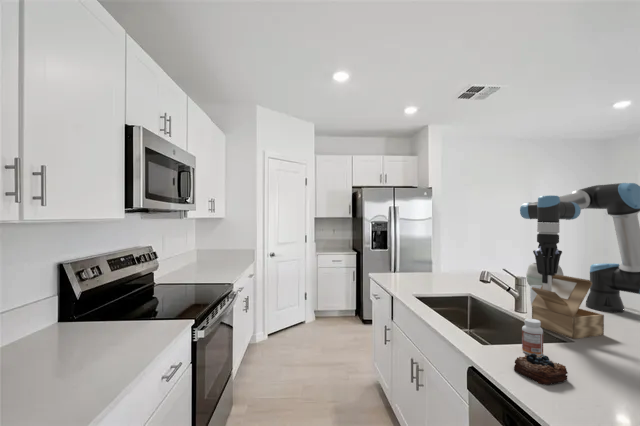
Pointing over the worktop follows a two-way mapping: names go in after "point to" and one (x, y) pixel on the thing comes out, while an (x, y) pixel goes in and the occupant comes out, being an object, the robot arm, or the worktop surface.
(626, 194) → the robot arm
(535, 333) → the pill bottle
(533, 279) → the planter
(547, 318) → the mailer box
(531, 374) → the pastry
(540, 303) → the lid
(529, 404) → the worktop surface
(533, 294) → the mug
